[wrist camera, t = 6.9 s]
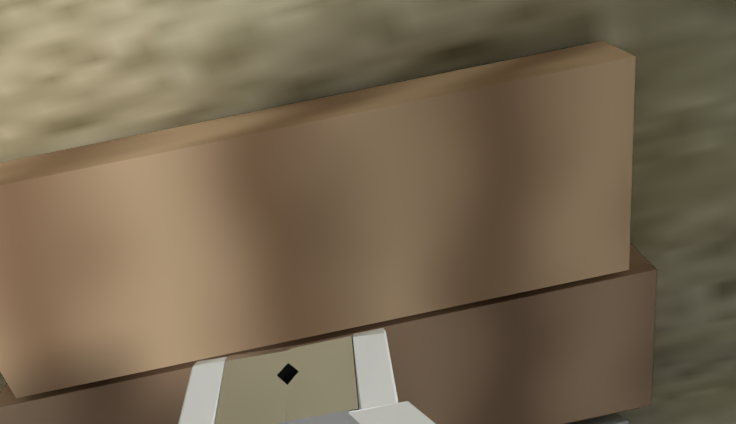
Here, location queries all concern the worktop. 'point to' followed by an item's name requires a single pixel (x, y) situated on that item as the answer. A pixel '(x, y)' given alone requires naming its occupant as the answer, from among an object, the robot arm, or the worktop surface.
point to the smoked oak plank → (315, 217)
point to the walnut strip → (447, 361)
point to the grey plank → (603, 420)
